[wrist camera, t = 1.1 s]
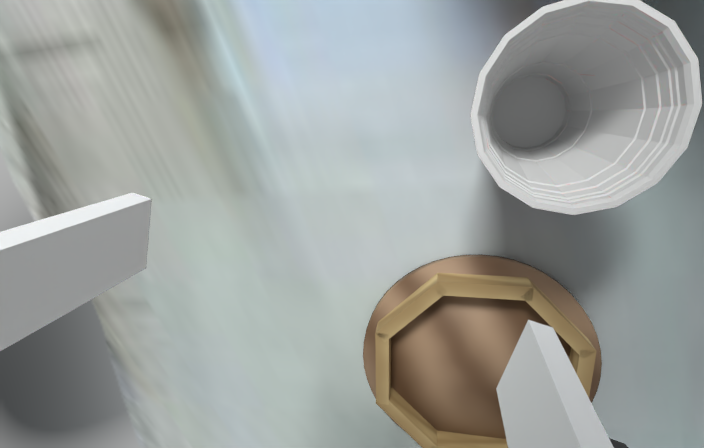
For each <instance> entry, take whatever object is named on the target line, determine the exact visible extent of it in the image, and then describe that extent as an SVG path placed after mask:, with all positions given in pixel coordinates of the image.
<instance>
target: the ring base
mask: <svg viewBox="0 0 704 448" xmlns="http://www.w3.org/2000/svg"><path fill="white" fill-rule="evenodd" d="M528 320H531V321H534V322H537V323H540V324H543V325H546V326H549V327H553V328H554V330H555V332H556V334H557V336H558V338H559V340H560V342H561V344H562V346H563V348H564V350H565V352H566V354H567V356H568V358H569V360H570V362H571V364H572V366H573V368H574V370H575V372H576V374H577V376H578V378H579V380H580V382H581V384H582V386H583V388H584V390H585V392H586V394H587V396H588V397H589V399H590V401H591V403H592V401H593V399H594V396H595V394H596V392H597V389H598V385H599V381H600V377H601V365H602V362H601V350H600V346H599V342H598V338H597V334H596V332H595V330H594V327H593V325H592V323H591V321H590V319H589V318H588V316H587V315H586V313H585V311H584V310H583V308H582V307H581V306H580V304H579V303H578V302H577V301H576V300H575V298H574V297H573V296H572V295H571V294H570V293H569V292H568V291H567V290H566V289H565V288H564V287H563V286H562V285H561V284H559V283H558V282H557V281H556V280H554V279H553V278H551V277H550V276H548V275H547V274H545V273H544V272H542V271H540V270H538V269H536V268H534V267H532V266H530V265H527V264H524V263H521V262H518V261H516V260H512V259H508V258H503V257H499V256H490V255H461V256H454V257H448V258H444V259H440V260H436V261H433V262H431V263H428V264H426V265H423V266H421V267H419V268H417V269H415V270H413V271H412V272H410V273H408V274H407V275H405V276H404V277H403V278H401V279H400V280H399V281H397V282H396V283H395V284H394V285H393V286H392V287H391V288H390V289H389V290H388V291H387V292H386V293H385V294H384V296H383V297H382V298H381V300H380V301H379V302H378V304H377V306H376V308H375V310H374V311H373V313H372V316H371V318H370V321H369V324H368V327H367V330H366V335H365V340H364V349H363V358H364V368H365V372H366V376H367V380H368V383H369V385H370V388H371V390H372V392H373V394H374V396H375V398H376V404H377V405H378V406H379V407H380V408H382V409H383V410H384V411H385V413H386V414H387V415H388V416H389V417H390V418H391V419H392V420H393V421H394V422H395V423H396V424H397V425H398V426H400V427H401V428H402V429H403V430H404V431H406V432H407V433H408V434H409V435H410V436H411V437H412V438H413V439H414V440H415V441H416V442H417V443H418V444H419V445H420V446H421V447H422V448H508V445H507V440H506V435H505V430H504V425H503V420H502V415H501V410H500V405H499V400H498V395H497V390H496V388H497V386H498V384H499V381H500V379H501V377H502V375H503V373H504V371H505V369H506V366H507V364H508V362H509V360H510V358H511V356H512V354H513V351H514V349H515V347H516V345H517V343H518V341H519V339H520V336H521V334H522V332H523V330H524V328H525V326H526V323H527V321H528Z"/></svg>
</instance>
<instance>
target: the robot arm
mask: <svg viewBox="0 0 704 448" xmlns="http://www.w3.org/2000/svg"><path fill="white" fill-rule="evenodd" d="M151 202H152V199H150V198H147V197H144V196H141V195H138V194H135V193H129V194H126V195H123V196H119V197H116V198H113V199H109V200H106V201H103V202H99V203H96V204H92V205H89V206H86V207H82V208H79V209H76V210H72V211H69V212H66V213H62V214H59V215H55V216H52V217H49V218H45V219H42V220H39V221H35V222H32V223H29V224H25V225H22V226H19V227H15V228H12V229H8V230H5V231H2V232H0V351H2V350H3V349H5V348H7V347H9V346H10V345H12V344H14V343H16V342H17V341H19V340H21V339H22V338H24V337H26V336H28V335H30V334H31V333H33V332H35V331H37V330H38V329H40V328H42V327H44V326H45V325H47V324H49V323H51V322H52V321H54V320H56V319H58V318H59V317H61V316H63V315H65V314H66V313H68V312H70V311H72V310H73V309H75V308H77V307H79V306H80V305H82V304H84V303H86V302H87V301H89V300H91V299H93V298H95V297H96V296H98V295H100V294H102V293H103V292H105V291H107V290H109V289H110V288H112V287H114V286H116V285H117V284H119V283H121V282H123V281H124V280H126V279H128V278H130V277H131V276H133V275H135V274H137V273H138V272H140V271H142V270H144V269H146V264H147V251H148V239H149V226H150V214H151ZM496 390H497V395H498V400H499V405H500V410H501V415H502V420H503V425H504V430H505V435H506V440H507V445H508V448H628V447H627V446H626V445H625V444H624V443H621V442H618V441H615V440H612V439H609V437H608V435H607V433H606V431H605V429H604V427H603V425H602V423H601V421H600V419H599V417H598V415H597V413H596V411H595V409H594V407H593V405H592V403H591V401H590V399H589V397H588V396H587V394H586V392H585V390H584V388H583V386H582V384H581V382H580V380H579V378H578V376H577V374H576V372H575V370H574V368H573V366H572V364H571V362H570V360H569V358H568V356H567V354H566V352H565V350H564V348H563V346H562V344H561V342H560V340H559V338H558V336H557V334H556V332H555V330H554V328H553V327H549V326H546V325H543V324H540V323H537V322H534V321H531V320H528V321H527V323H526V326H525V328H524V330H523V332H522V334H521V336H520V339H519V341H518V343H517V345H516V347H515V349H514V351H513V354H512V356H511V358H510V360H509V362H508V364H507V366H506V369H505V371H504V373H503V375H502V377H501V379H500V381H499V384H498V386H497V388H496Z"/></svg>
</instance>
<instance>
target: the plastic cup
mask: <svg viewBox="0 0 704 448" xmlns="http://www.w3.org/2000/svg"><path fill="white" fill-rule="evenodd" d="M701 106H702V94H701V83H700V72H699V61H698V58H697V56H696V54H695V53H694V51H693V50H692V48H691V46H690V45H689V43H688V42H687V40H686V38H685V37H684V35H683V33H682V32H681V30H680V29H679V27H678V25H677V24H676V22H675V21H674V20H672V19H670V18H669V17H667V16H665V15H664V14H662V13H660V12H659V11H657V10H655V9H654V8H652V7H650V6H649V5H647V4H645V3H644V2H642V1H640V0H563V1H560V2H556V3H553V4H549V5H546V6H543V7H541V8H540V9H539V10H537V11H536V12H535V13H533V14H532V15H531V16H529V17H528V18H527V19H525V20H524V21H523V22H521V23H520V24H519V25H517V26H516V27H515V28H513V29H512V30H511V31H509V32H508V33H506V34H505V35H504V36H503V38H502V39H501V41H500V42H499V44H498V46H497V47H496V49H495V50H494V52H493V53H492V55H491V56H490V58H489V59H488V61H487V62H486V64H485V65H484V67H483V69H482V70H481V72H480V73H479V77H478V82H477V86H476V91H475V96H474V100H473V105H472V109H471V114H470V117H471V122H472V128H473V133H474V139H475V144H476V149H477V155H478V156H479V158H480V159H481V161H482V162H483V164H484V165H485V167H486V168H487V170H488V171H489V172H490V174H491V175H492V177H493V178H494V180H495V181H496V183H497V184H498V186H499V187H500V188H502V189H503V190H505V191H507V192H508V193H510V194H511V195H513V196H515V197H516V198H518V199H519V200H521V201H522V202H524V203H526V204H527V205H529V206H530V207H532V208H536V209H542V210H547V211H553V212H559V213H564V214H570V215H577V214H582V213H588V212H593V211H598V210H604V209H609V208H614V207H618V206H620V205H621V204H623V203H625V202H627V201H628V200H630V199H632V198H633V197H635V196H637V195H639V194H640V193H642V192H644V191H645V190H647V189H649V188H651V187H652V186H654V185H656V184H657V183H658V182H659V181H660V180H661V179H662V177H663V176H664V175H665V174H666V173H667V171H668V170H669V169H670V168H671V167H672V165H673V164H674V163H675V162H676V161H677V160H678V158H679V157H680V156H681V155H682V154H683V152H684V151H685V150H686V149H687V148H688V145H689V142H690V139H691V136H692V133H693V130H694V127H695V124H696V121H697V118H698V115H699V112H700V109H701Z"/></svg>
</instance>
